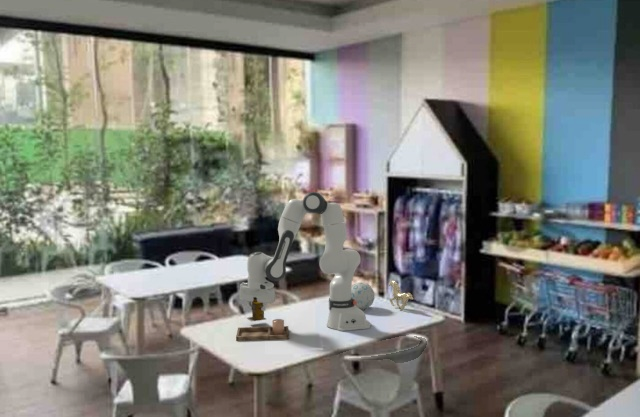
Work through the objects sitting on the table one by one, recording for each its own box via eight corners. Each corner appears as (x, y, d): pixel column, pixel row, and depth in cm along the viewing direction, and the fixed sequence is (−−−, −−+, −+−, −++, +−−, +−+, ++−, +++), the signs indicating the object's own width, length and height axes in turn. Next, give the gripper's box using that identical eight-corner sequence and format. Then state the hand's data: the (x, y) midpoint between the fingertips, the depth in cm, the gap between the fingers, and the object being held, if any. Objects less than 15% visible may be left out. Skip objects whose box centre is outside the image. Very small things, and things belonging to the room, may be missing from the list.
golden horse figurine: (415, 312, 318) (415, 282, 316) (410, 314, 315) (410, 283, 313) (391, 304, 334) (391, 275, 332) (386, 305, 332) (386, 276, 330)
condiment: (266, 319, 295) (266, 296, 294) (251, 321, 291) (250, 298, 290) (261, 315, 302) (261, 293, 300) (246, 318, 298) (245, 295, 297)
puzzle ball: (346, 305, 333) (346, 280, 331) (371, 304, 335) (371, 279, 333) (350, 313, 318) (350, 286, 316) (377, 312, 320) (377, 285, 318)
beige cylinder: (284, 332, 284) (283, 318, 283) (284, 336, 278) (284, 322, 277) (272, 332, 283) (272, 319, 283) (272, 336, 278) (272, 322, 277)
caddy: (288, 330, 288) (288, 326, 288) (288, 340, 274) (288, 335, 274) (238, 332, 286) (238, 327, 286) (236, 341, 272) (236, 336, 272)
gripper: (236, 283, 296) (237, 309, 298) (269, 286, 287) (270, 313, 288) (243, 280, 302) (244, 306, 303) (276, 284, 293) (277, 310, 294)
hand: (257, 310), depth 296 cm, fingers closed on condiment, 6 cm apart
